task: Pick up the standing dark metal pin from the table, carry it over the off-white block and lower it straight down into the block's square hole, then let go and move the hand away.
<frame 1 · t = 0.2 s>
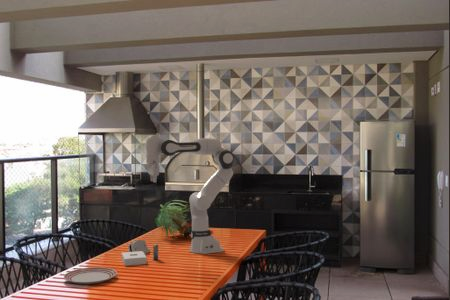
hand: (153, 181, 320), 47 cm above the table, tool pointing down, fingers open, 8 cm apart
dinner plate: (90, 280, 263), on the table
pin: (155, 259, 307), on the table
grey curved slotted block: (138, 254, 323), on the table
plant: (175, 238, 376), on the table
knuckle block: (133, 261, 303), on the table
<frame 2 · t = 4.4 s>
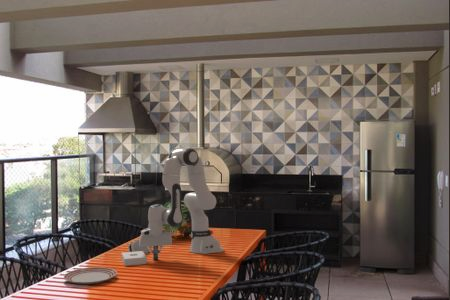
hand: (155, 253, 307), 4 cm above the table, tool pointing down, fingers closed on pin, 3 cm apart
pin: (155, 259, 307), on the table, touching gripper
everything else where it was.
when the fingers open (6 cm above the table, at t = 9.2 s): pin drops 2 cm, resting in knuckle block.
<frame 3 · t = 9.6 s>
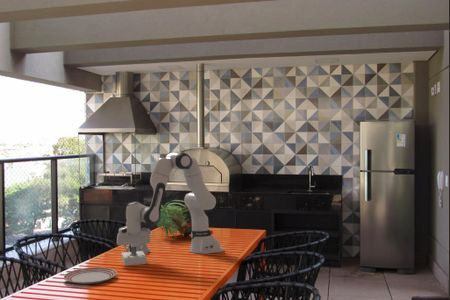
hand: (133, 251, 303), 6 cm above the table, tool pointing down, fingers open, 7 cm apart
pin: (133, 261, 303), resting in knuckle block
everything else where it was.
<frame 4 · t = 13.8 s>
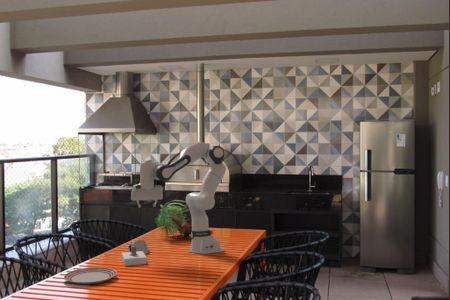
hand: (147, 207, 319), 31 cm above the table, tool pointing down, fingers open, 8 cm apart
nothing on the table moved.
at the end: pin 0.0 cm off-centre on the knuckle block, point 0.0 cm above the knuckle block's base; pin tilted 0°; the gripper is holding nothing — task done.
